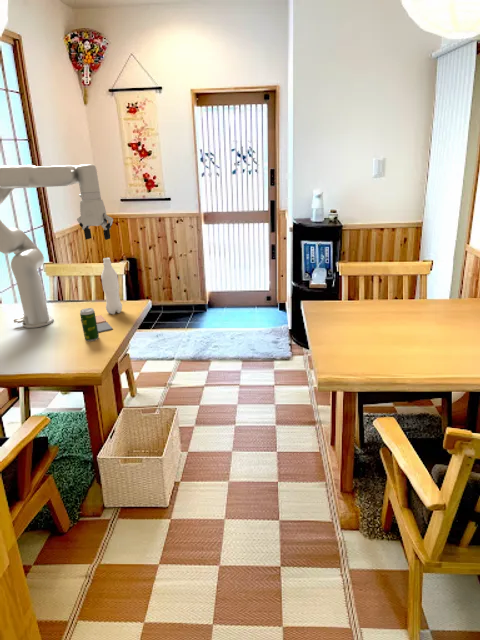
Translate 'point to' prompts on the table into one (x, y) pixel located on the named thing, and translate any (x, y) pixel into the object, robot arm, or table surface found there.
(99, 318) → the terracotta coaster
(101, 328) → the slate coaster
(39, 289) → the robot arm
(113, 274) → the water bottle
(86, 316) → the beer can
